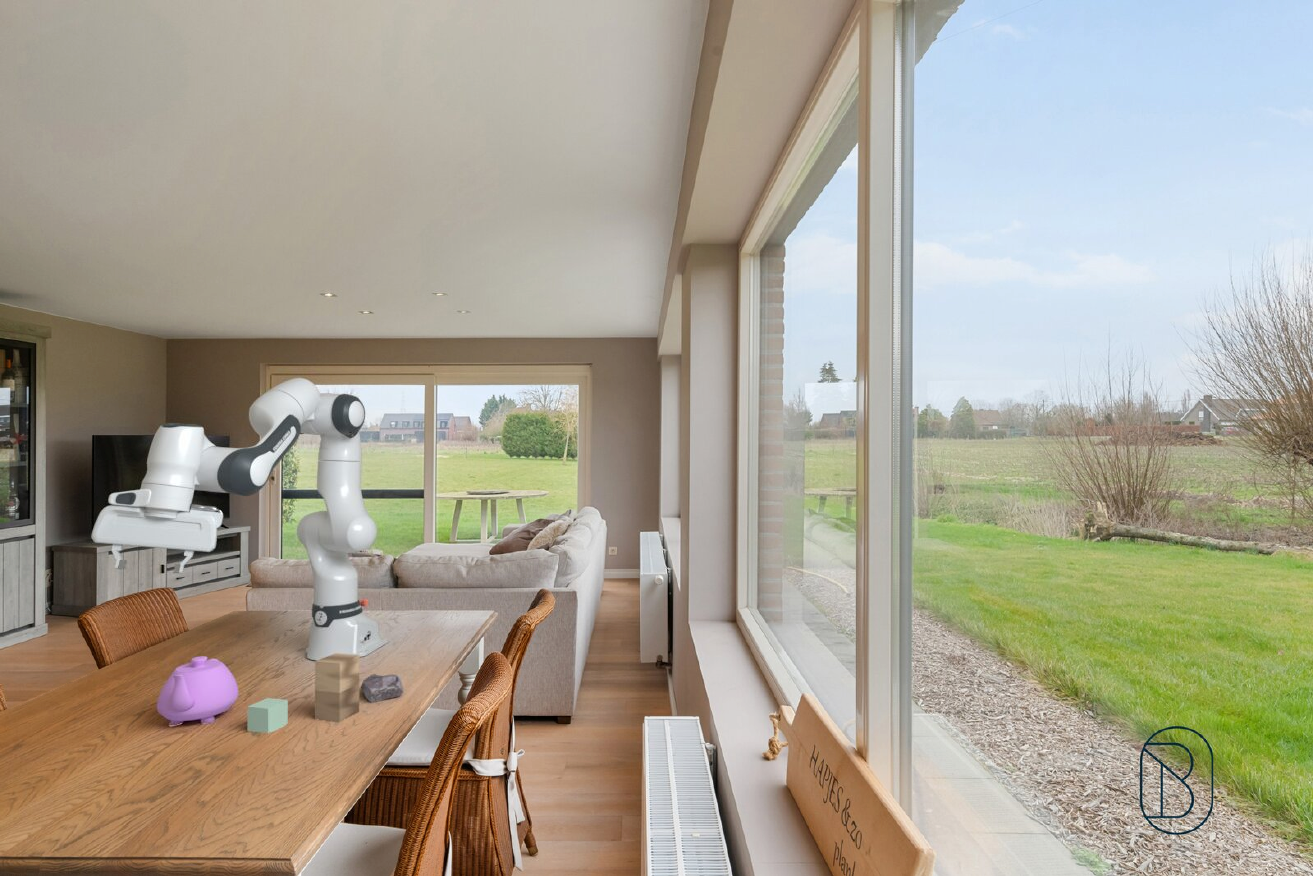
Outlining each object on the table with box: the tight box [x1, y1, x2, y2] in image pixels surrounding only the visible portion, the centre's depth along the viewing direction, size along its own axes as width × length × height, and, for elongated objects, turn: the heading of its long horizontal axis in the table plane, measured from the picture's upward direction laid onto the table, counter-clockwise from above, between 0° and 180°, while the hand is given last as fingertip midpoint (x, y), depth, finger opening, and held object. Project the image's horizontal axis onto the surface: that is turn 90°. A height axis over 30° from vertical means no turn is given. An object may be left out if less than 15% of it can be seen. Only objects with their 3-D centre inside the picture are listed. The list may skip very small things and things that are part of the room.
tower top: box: [314, 653, 360, 693], centre depth 146 cm, size 6×6×6 cm
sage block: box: [246, 697, 289, 734], centre depth 140 cm, size 5×5×5 cm
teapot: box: [156, 655, 239, 725], centre depth 144 cm, size 20×14×12 cm
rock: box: [360, 673, 404, 704], centre depth 159 cm, size 8×11×5 cm
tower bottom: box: [314, 683, 360, 723], centre depth 146 cm, size 6×6×6 cm
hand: (149, 571), depth 136 cm, fingers open, 8 cm apart
